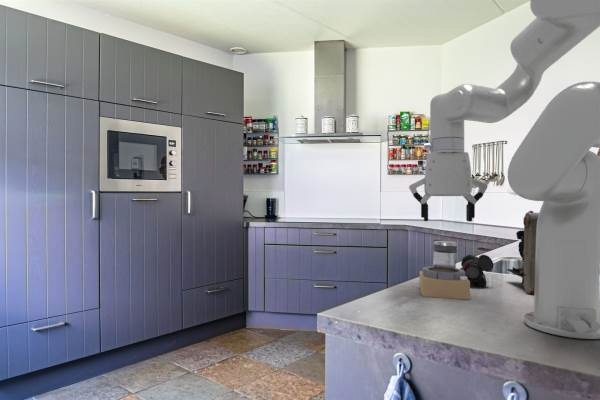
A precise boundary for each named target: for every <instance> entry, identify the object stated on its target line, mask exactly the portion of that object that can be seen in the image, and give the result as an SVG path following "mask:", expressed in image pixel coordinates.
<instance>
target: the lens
mask: <svg viewBox="0 0 600 400" xmlns="http://www.w3.org/2000/svg"><path fill="white" fill-rule="evenodd" d="M457 243H458V242H456V241H449V240H434V241H433V260H432V261H433V263H432V266H433V271H437V272H450V273H453V272H456V268H457V252H458V244H457Z"/></svg>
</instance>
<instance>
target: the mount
mask: <svg viewBox="0 0 600 400" xmlns="http://www.w3.org/2000/svg"><path fill="white" fill-rule="evenodd" d="M418 279H419V280H418V282H419V283H418V284H419V285H418V288H419V290H420V293H421V296H422V297H424V298H425V297H426V298H440V299H442V298H443V299H455V300H471V299H470V298H471V297H470V296H471V282H470V281H469V280H468V279H467V277H466V272H465V271H464V270H462V269H460V268H457V267H456V272H453V273H450V272H437V271H433V265H432V266H422V270H419V278H418Z"/></svg>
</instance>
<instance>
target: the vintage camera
mask: <svg viewBox="0 0 600 400" xmlns="http://www.w3.org/2000/svg"><path fill="white" fill-rule="evenodd" d="M538 216H539V212H534V211H533V210H529V211H528V212H525V215H524V217H523V226H524V227H523V229H522V230H518V231H516V232H515V233H516V234H515V235H516V238H517V240H520V241H519V242H518V246H517V247H518V253H519V255H520V258H521V261H522V263H523V265H522V266H521V267H520V268H519V267H518V268H517V267H513V266H512V268H506V271H508V272H510V273H512V274H513V275H516V276H518V277H520V278H522V280H521V284H523V287H524V288H523V289H524V292H525V294H529V295H530V294H531V295H532V294H533V295H534V292H535V256H536V228H537V220H538Z"/></svg>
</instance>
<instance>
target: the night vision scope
mask: <svg viewBox="0 0 600 400" xmlns="http://www.w3.org/2000/svg"><path fill="white" fill-rule="evenodd" d="M460 262H461V263H460V265H461V267H460V268H459V269H462V270H464V271H465V272H466V277H467V279H468V280H469V281H470V283H476V284H477V287H478V288H481V289H484V288H485V287H486V286H487V279H486V278H487V277H486V274H485V273H484V272H486V273H487V272H491V271H492V270H493V269H494V262H493V260H492V258H491V257H490V256H489V255H486V254H481V255H479V256H476V255H474V254H473V255H472V254H468V255H465V256H463V257H462V259H461V261H460Z"/></svg>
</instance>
